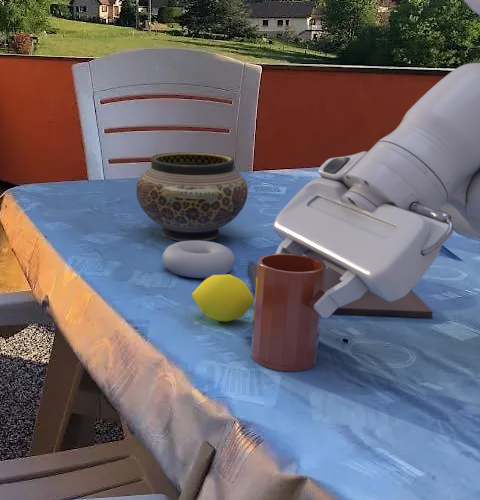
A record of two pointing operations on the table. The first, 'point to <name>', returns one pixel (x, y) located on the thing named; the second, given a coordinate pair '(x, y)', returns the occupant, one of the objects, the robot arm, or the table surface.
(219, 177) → the ceramic bowl
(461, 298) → the table surface
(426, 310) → the board
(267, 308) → the tumbler
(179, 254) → the donut
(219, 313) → the lemon
